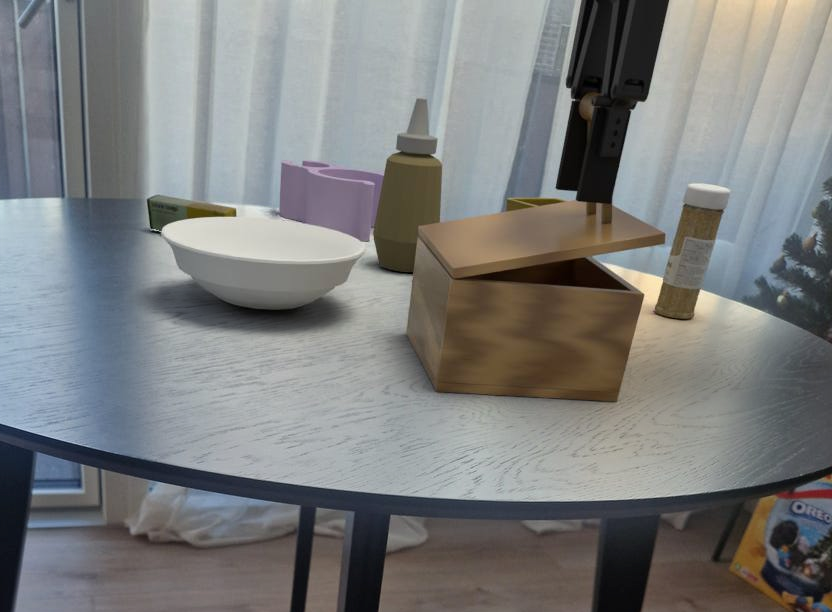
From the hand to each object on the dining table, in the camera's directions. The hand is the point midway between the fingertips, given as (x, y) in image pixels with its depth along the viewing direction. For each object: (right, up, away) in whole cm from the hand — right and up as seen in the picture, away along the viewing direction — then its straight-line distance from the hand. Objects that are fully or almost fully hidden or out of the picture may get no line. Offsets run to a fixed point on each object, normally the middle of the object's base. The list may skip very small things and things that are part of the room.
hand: (582, 195), depth 76 cm
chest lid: (-4, -3, +2) cm, 5 cm away
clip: (-21, +23, +57) cm, 65 cm away
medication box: (-39, +14, +40) cm, 58 cm away
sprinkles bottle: (+18, +1, +30) cm, 35 cm away
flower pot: (+4, +7, +37) cm, 38 cm away
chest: (-5, -12, +7) cm, 15 cm away
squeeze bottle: (-13, +9, +37) cm, 40 cm away
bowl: (-28, -3, +17) cm, 33 cm away
